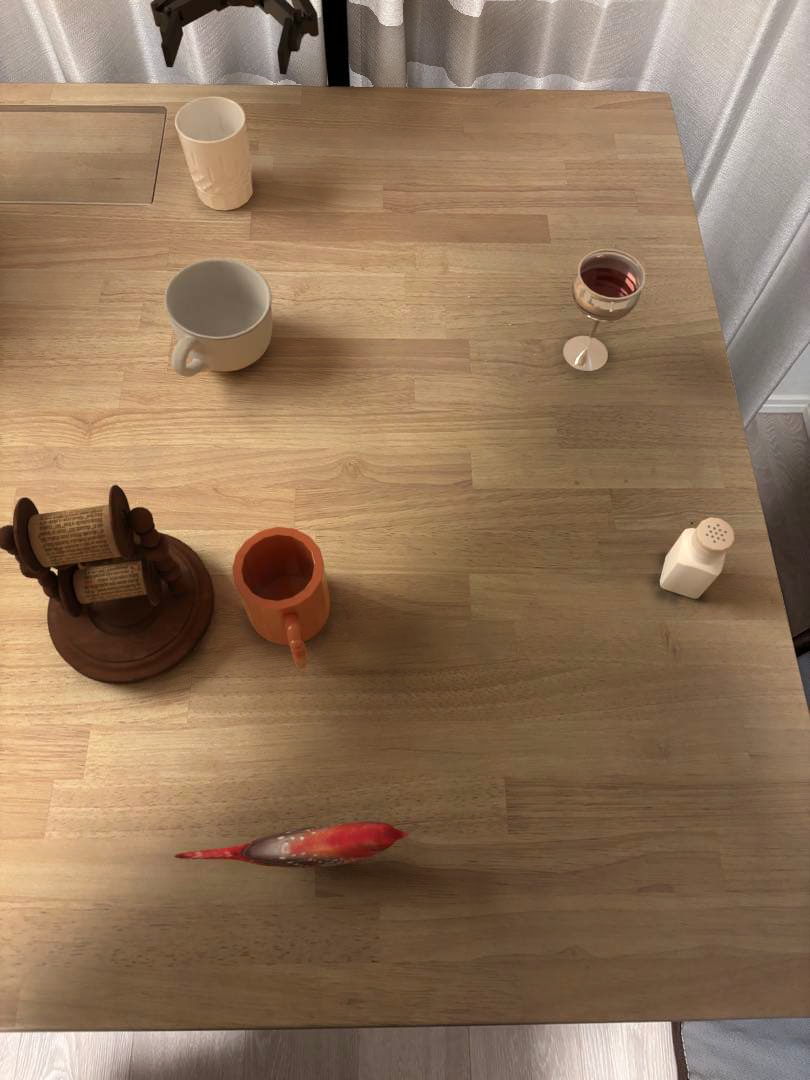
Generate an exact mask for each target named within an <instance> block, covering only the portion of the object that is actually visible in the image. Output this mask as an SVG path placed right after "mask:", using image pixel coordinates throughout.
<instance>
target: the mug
mask: <svg viewBox="0 0 810 1080" xmlns="http://www.w3.org/2000/svg"><path fill="white" fill-rule="evenodd" d="M231 573H232V579H233V583H234V587H235V589H236V592H237V594H238V596H239V598H240V601H241V603H242V607H243V608H244V611H245V612H246V615H247V618H248V620H249V622H250V623H251V625H252V627H253V629H254V630H255V631H256V632H257V634H258V635H259V636H260V637H262V638H263V639H265V640H266V641H268V642H270V643H272V644H276V645H280V646H289V649H290V652H291V655H292V658H293V661H294V664H295V666H296V667H297V668H298V669H305V668H307V667H308V665H309V663H310V661H309V656H308V652H307V647H306V643H305V642H307V641H309V640H311V639H312V638H314V637H315V636H316V635H317V634H318V633H319V632H320V631H321V630H322V629H323V627H324V626H325V625H326V623H327V621H328V618H329V615H330V609H331V597H330V592H329V586H328V585H329V584H328V581H327V573H326V568H325V563H324V558H323V555H322V551H321V549H320V547H319V546H318V544H317V543H316V542H315V541H314V540H313V538H312V537H311V536H310V535H308V534H306V533H304V532H302V531H300V530H298V529H297V528H292V527H284V526H274V527H271V528H266V529H262V530H259V531H258V532H257V533H255V534H253V535H252V536H250V537H248V538H247V539H246V540H245V541H244V542H243V543H242V545H241V546H240V548H239V549H238V550H237V551H236V553H235V555H234V560H233V563H232V568H231Z"/></svg>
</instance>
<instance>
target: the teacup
mask: <svg viewBox="0 0 810 1080" xmlns="http://www.w3.org/2000/svg"><path fill="white" fill-rule="evenodd" d="M163 297H164V298H163V303H164V310H165V312H166V314H167V316H168V318H169V321H170V325H171V328H172V332H173V335H174V337H175V340H176V342H177V343H176V344H175V346H174V348H173V351H172V354H171V359H170V362H171V368H172V370H173V371H174V373H176V374H177V375H179V376H181V377H185V378H191V377H194V376H196V375H198V374H199V373H205V372H206V371H208V370H209V371H215V372H234V371H238V370H241V369H244V368H246V367H249V366H251V365H252V364H253V363H256V361H258V360H259V359H260V358H261V357H262V356H263V355H264V353H266V351H267V349H268V348H269V346H270V342H271V340H272V335H273V311H272V300H273V299H272V298H273V297H272V291H271V287H270V285H269V283H268V281H267V280H266V278H265V277H264V276H263V275H262V273H261V272H259V271H258V270H257V268H254V267H253V266H251V265H249V264H248V263H246V262H242V261H239V260H236V259H233V258H225V257H214V258H213V257H211V258H206V259H201V260H198V261H195V262H192V263H190V264H188V265H186V266H184V267H183V268H181V269H180V270H178V271H177V272H176V273H175V274H174V275H173V276H172V278H171V279H170V280H169V282H168V284H167V286H166V288H165V291H164V296H163ZM187 359H189V360H190V362H189V363H188V364H187Z"/></svg>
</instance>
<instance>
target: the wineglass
mask: <svg viewBox="0 0 810 1080" xmlns="http://www.w3.org/2000/svg"><path fill="white" fill-rule="evenodd" d="M645 282H646V271H645V269H644V267H643V266H642V264H641V262H640V261H639V260H637V258H635V256H632V255H631V254H630V253H627V252H625V251H622V250H618V249H615V248H601V249H597V250H592V251H591V252H589V253H587V254H586V255H584V256H583V258H582V259H581V260H580V261H579V264H578V266H577V272H576V274H575V277H574V279H573V282H572V286H571V287H572V288H571V289H572V297H573V301H574V304H575V305H576V307H577V309H578V310H579V311H580V312H581V313H582V314H583V315H585V316H586V317H588V318H590V319H591V320H592V321H591V326H590V330H589V333H588V335H578V336H574V337H572V338H570V339H568V340H567V342H565V344H564V346H563V349H562V355H563V357H564V359H565V362H567V363H568V365H569V366H571V367H572V368H574V369H576V370H579V371H582V372H593V371H598V370H599V369H601V368H603V367H604V365H606V363H607V361H608V358H609V353H608V349H607V347H606V346H605V345H604V344H603V342H601V341H600V340H599V339H597V338H595V334H596V331H597V329H598V328H599V327H598V326H599V324H600V322H609V323H611V322H614V321H619V320H621V319H623V318H625V317H627V315H629V314H630V313H631V312H632V311H633V309H634V308H635V307H636V306H637V304H638V303H639V300H640V297H641V295H642V293H641V292H642V288H644V286H645Z"/></svg>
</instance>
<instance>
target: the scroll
mask: <svg viewBox="0 0 810 1080" xmlns="http://www.w3.org/2000/svg"><path fill="white" fill-rule="evenodd" d="M0 549H1V550H3V551H6V552H7V553H8V554H9V555H12V556H14V559H15V560H16V561H17V563H18V565H19V570H20V573H21V574H22V576H23V577H25V578H27V579H33V580H37V583H38V584H39V586H40V587H41V588H42V591H43V593H44V595H45V596H46V597H48V598H49V599H48V604H47V611H46V621H47V629H48V634H49V637H50V640H51V642H52V644H53V647H54V648H55V650H56V651H57V653H58V654H59V656H60V657H61V658H62V659H63V660H64V662H65V663H67V664H68V665H69V666H70V667H71V668H72V669H73V670H74V671H76V672H77V673H79V674H80V675H82V676H83V677H85V678H88V679H90V680H92V681H95V682H97V683H102V684H106V685H111V686H112V685H113V686H129V685H137V684H142V683H148V682H150V681H153V680H156V679H157V678H161V677H162V676H165V675H167V674H168V673H170V672H172V671H173V670H176V668H178V667H179V666H180V665H182V664H183V663H184V662H185V661H186V660H188V659H189V658H190V656H192V655H194V654H195V652H196V650H197V649H198V647H199V646H200V645H201V643H202V642H203V640H204V639H205V637H206V635H207V633H208V631H209V628H210V626H211V623H212V620H213V615H214V610H215V601H216V600H215V588H214V584H213V580H212V578H211V575H210V572H209V570H208V569H207V566H206V565H205V563H204V561H203V560H202V558H201V556H199V554H198V553H197V552H196V551H195V550H194V549H193V548H192V547H191V546H190V545H188V544H187V543H185V542H184V541H182V540H180V539H179V538H177V537H175V536H173V535H170V534H167V533H163V532H159V531H158V530H157V528H156V524H155V522H154V517H153V513H152V512H151V511H150V510H149V509H148V508H146V507H143V506H136V507H133V508H131V507H130V503H129V500H128V498H127V495H126V493H125V491H124V490H123V489H122V488H121V487H120V486H119V485H118V484H113V485H112V486H111V487H110V488H109V492H108V504H103V505H97V506H90V507H80V508H74V509H67V510H60V511H52V512H45V513H43V512H42V513H40V512H39V510H38V508H37V506H36V504H35V503H34V501H32V499H31V498H29V497H26V496H24V497H21V498H19V500H17V502H16V504H15V506H14V509H13V515H12V524H6V525H3V526H1V527H0ZM52 569H54V570H57V571H56V572H55V571H54V570H52Z"/></svg>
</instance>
